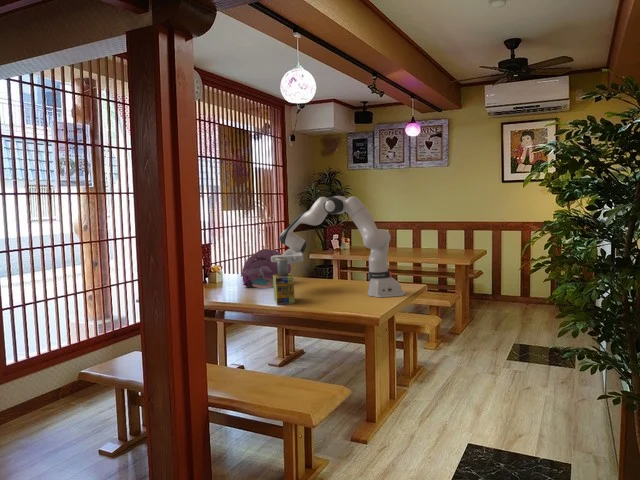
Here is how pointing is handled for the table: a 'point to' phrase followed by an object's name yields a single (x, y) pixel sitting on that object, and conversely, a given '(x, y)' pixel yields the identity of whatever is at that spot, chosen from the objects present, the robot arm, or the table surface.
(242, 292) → the table surface
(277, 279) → the protein box
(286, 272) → the tumbler
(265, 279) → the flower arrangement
